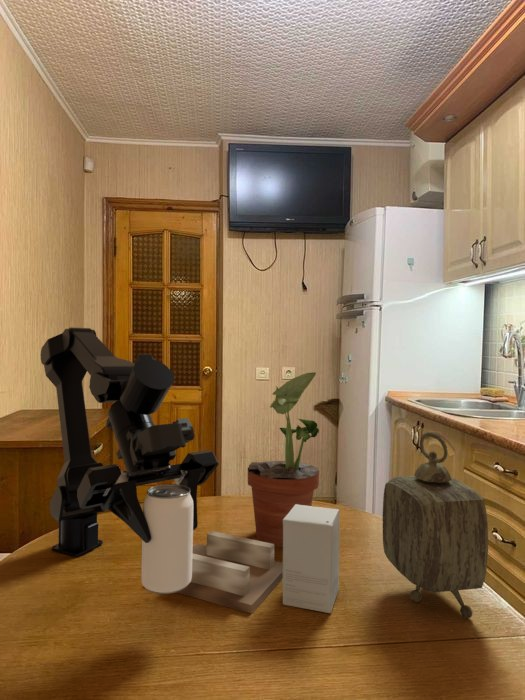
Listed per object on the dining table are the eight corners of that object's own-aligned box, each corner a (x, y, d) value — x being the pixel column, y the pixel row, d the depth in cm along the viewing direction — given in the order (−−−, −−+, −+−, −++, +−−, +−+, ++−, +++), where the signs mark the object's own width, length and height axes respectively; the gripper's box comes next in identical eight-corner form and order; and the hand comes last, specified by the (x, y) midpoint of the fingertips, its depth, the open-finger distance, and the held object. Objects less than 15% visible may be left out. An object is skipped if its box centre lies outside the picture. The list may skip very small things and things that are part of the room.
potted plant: (336, 534, 96) (339, 359, 95) (289, 558, 84) (293, 360, 84) (276, 514, 106) (279, 357, 106) (227, 534, 94) (230, 357, 94)
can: (181, 598, 58) (183, 500, 58) (132, 591, 59) (134, 496, 59) (198, 573, 64) (200, 485, 64) (154, 567, 66) (155, 481, 66)
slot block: (148, 584, 74) (148, 553, 74) (197, 550, 87) (197, 523, 87) (251, 613, 67) (252, 579, 67) (288, 571, 79) (289, 542, 79)
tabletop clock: (486, 625, 65) (490, 442, 65) (426, 631, 63) (430, 443, 63) (428, 574, 79) (432, 424, 79) (378, 579, 77) (381, 425, 77)
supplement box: (340, 590, 74) (341, 508, 74) (330, 615, 67) (332, 525, 67) (293, 581, 76) (295, 502, 76) (280, 605, 69) (282, 518, 69)
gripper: (86, 403, 59) (122, 520, 50) (213, 395, 71) (258, 488, 62) (64, 454, 65) (93, 566, 56) (184, 439, 77) (222, 529, 68)
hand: (172, 534), depth 61 cm, fingers closed on can, 6 cm apart
